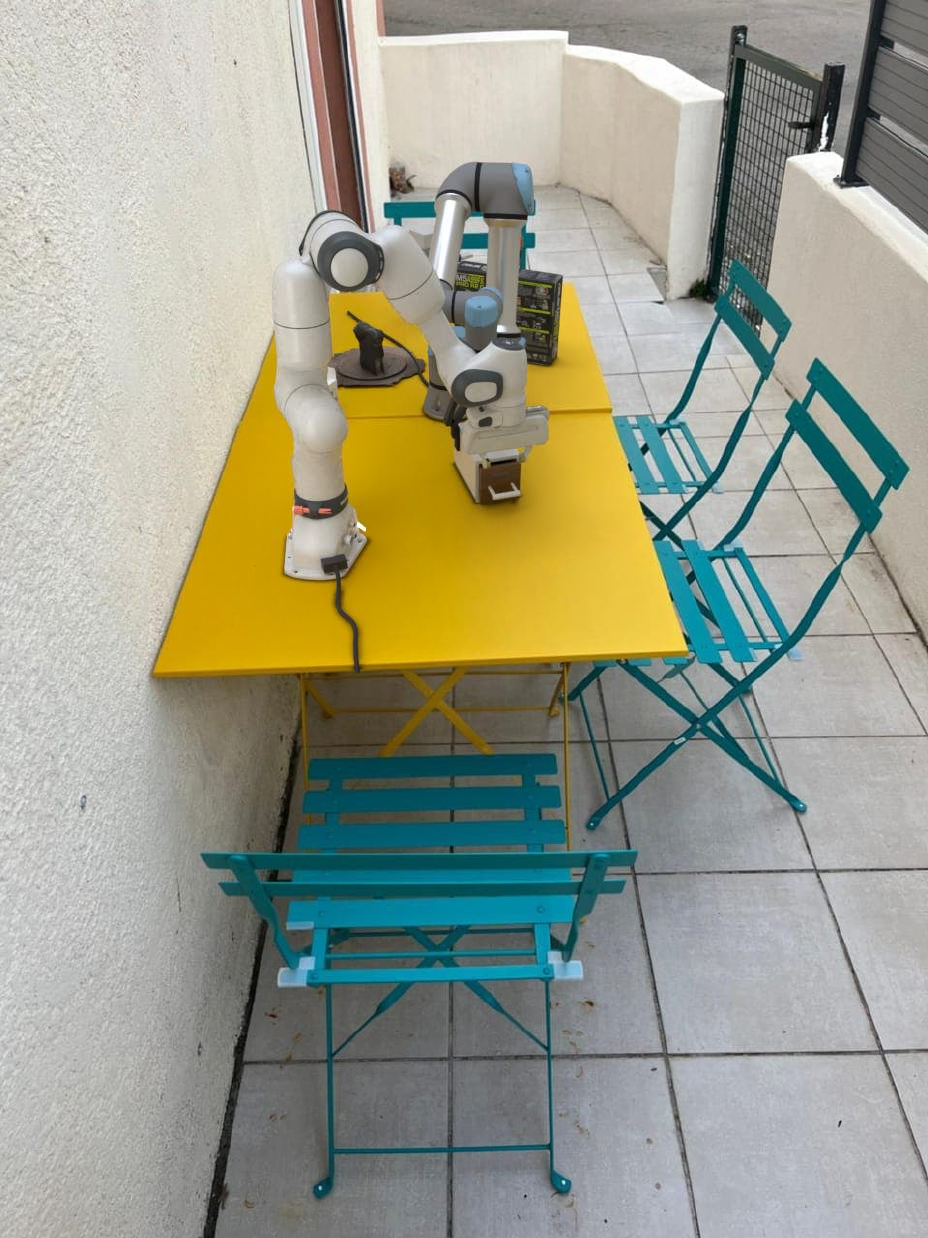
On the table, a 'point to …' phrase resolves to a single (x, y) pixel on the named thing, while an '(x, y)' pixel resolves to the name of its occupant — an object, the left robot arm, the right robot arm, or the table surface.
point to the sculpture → (373, 360)
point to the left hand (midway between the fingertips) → (504, 464)
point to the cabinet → (477, 465)
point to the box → (525, 307)
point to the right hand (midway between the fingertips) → (480, 445)
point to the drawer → (499, 481)
